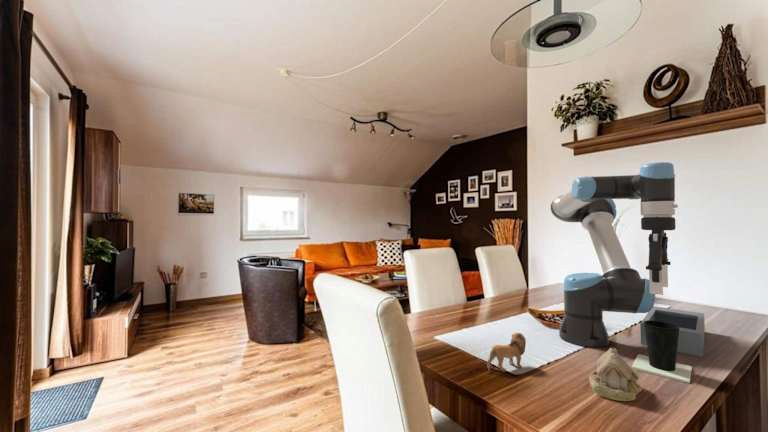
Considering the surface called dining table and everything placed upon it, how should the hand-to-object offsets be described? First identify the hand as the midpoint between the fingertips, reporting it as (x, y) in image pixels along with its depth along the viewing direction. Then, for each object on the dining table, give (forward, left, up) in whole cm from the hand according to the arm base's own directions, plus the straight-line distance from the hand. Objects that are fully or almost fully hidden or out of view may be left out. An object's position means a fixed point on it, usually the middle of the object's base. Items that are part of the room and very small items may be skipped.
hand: (659, 290), depth 91 cm
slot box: (+1, +35, -22) cm, 41 cm away
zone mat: (0, 0, -22) cm, 22 cm away
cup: (0, 0, -22) cm, 22 cm away
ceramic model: (-7, -23, -23) cm, 33 cm away
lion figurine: (-32, -30, -23) cm, 49 cm away
